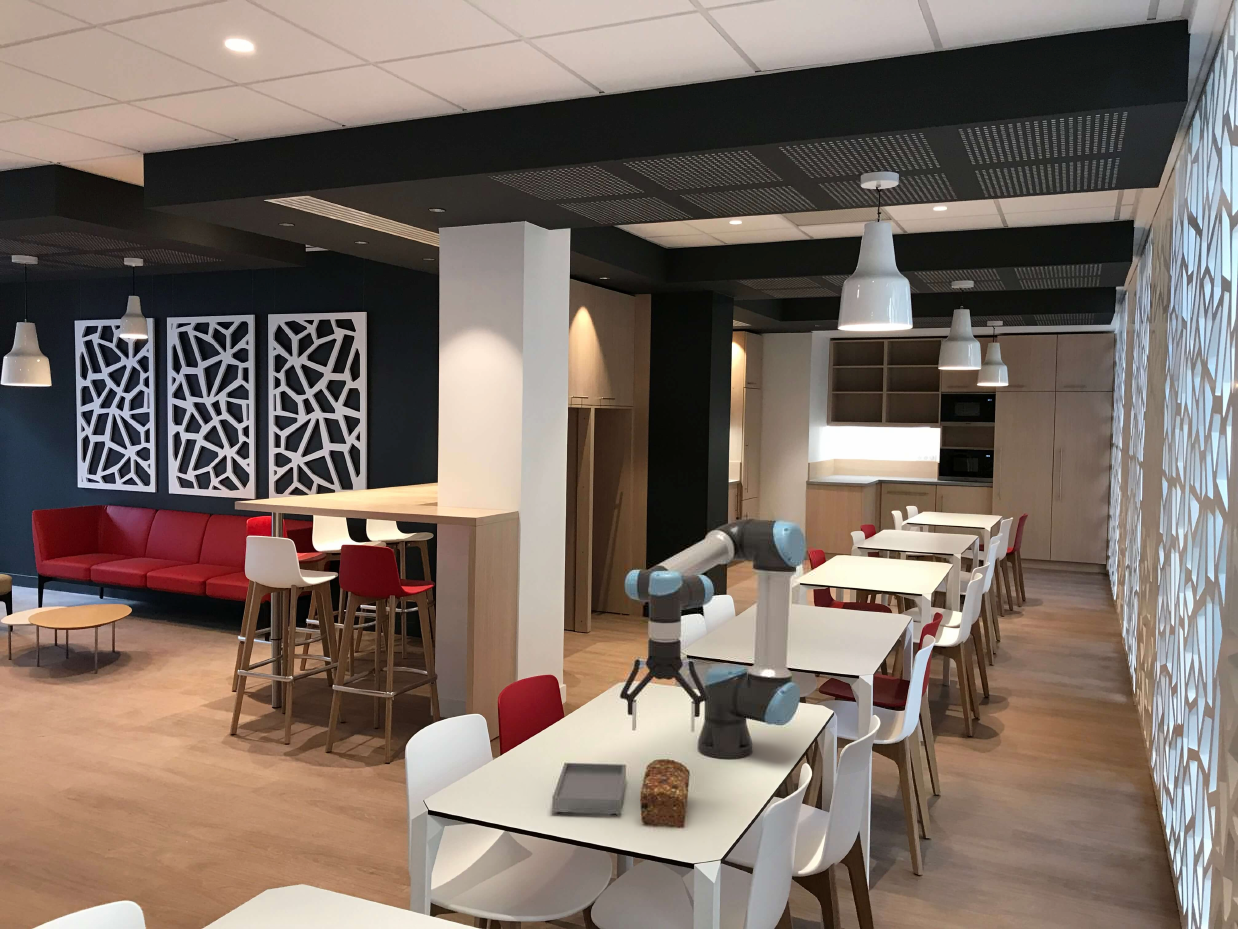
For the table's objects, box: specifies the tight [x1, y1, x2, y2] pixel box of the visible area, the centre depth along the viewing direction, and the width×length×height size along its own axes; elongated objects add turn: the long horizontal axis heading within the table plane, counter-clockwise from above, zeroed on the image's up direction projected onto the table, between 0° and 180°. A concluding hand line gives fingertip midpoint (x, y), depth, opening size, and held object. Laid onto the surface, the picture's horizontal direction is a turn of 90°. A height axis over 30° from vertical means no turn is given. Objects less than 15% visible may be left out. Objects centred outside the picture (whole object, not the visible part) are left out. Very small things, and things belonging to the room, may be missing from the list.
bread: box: [639, 758, 691, 829], centre depth 223 cm, size 19×11×10 cm, turn 172°
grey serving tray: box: [551, 762, 627, 816], centre depth 231 cm, size 16×24×4 cm, turn 176°
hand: (663, 729), depth 223 cm, fingers open, 13 cm apart
